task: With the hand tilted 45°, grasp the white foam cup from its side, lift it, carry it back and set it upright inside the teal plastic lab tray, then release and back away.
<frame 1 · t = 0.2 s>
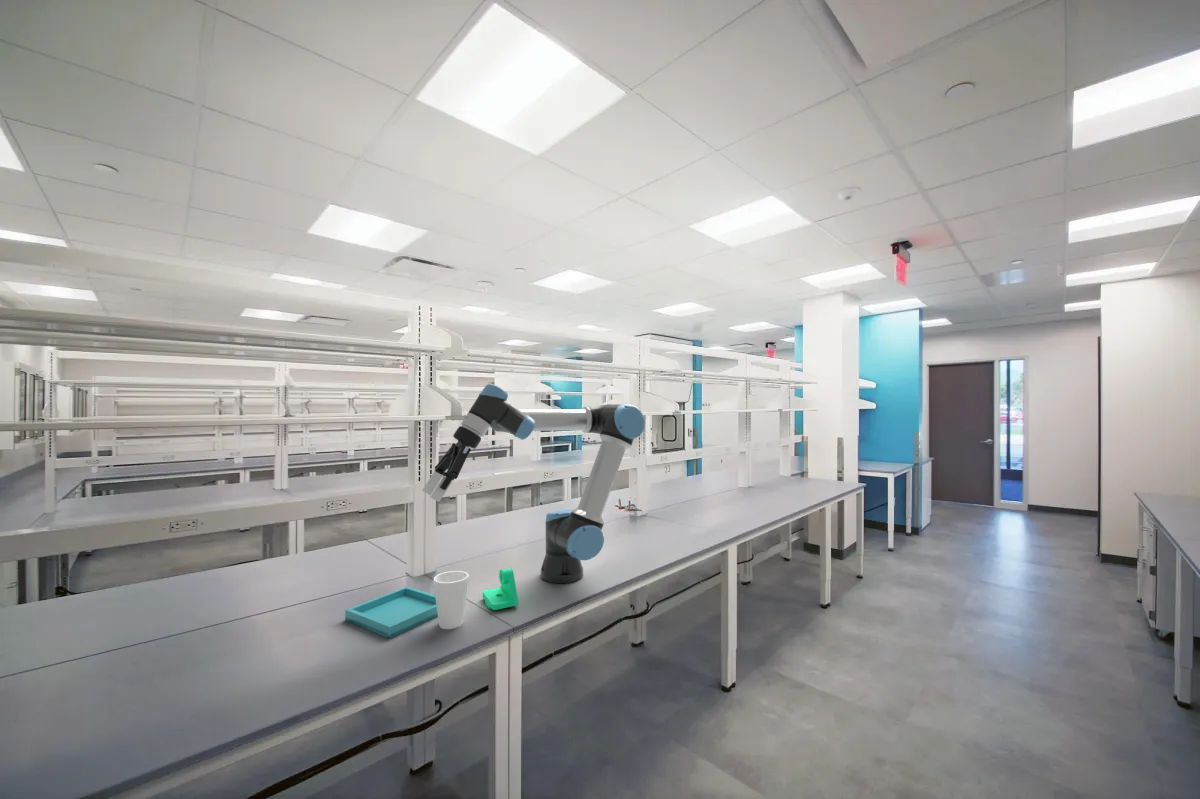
hand: (430, 496, 131), 35 cm above the table, tool tilted 35°, fingers open, 13 cm apart
foam cup: (451, 624, 130), on the table
camera mount: (499, 604, 143), on the table
teal tray: (399, 615, 135), on the table
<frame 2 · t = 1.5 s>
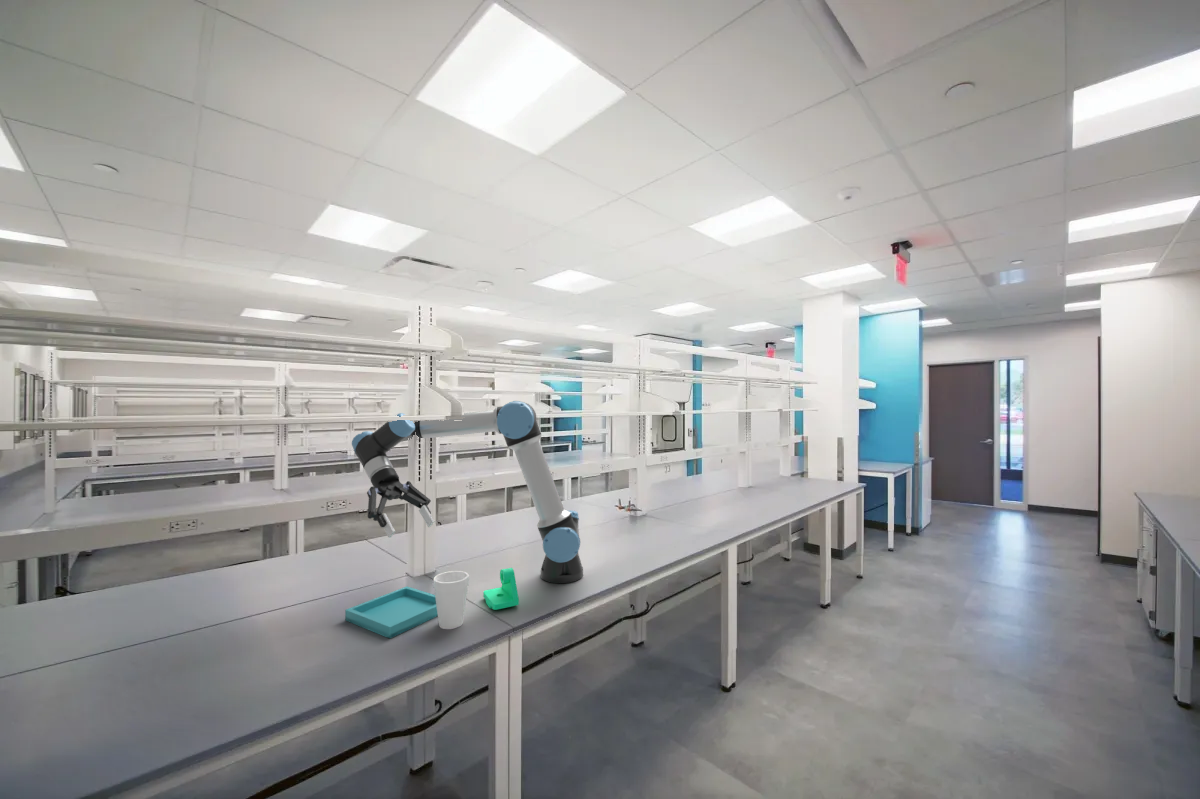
hand: (412, 529, 138), 24 cm above the table, tool tilted 45°, fingers open, 13 cm apart
nothing on the table moved.
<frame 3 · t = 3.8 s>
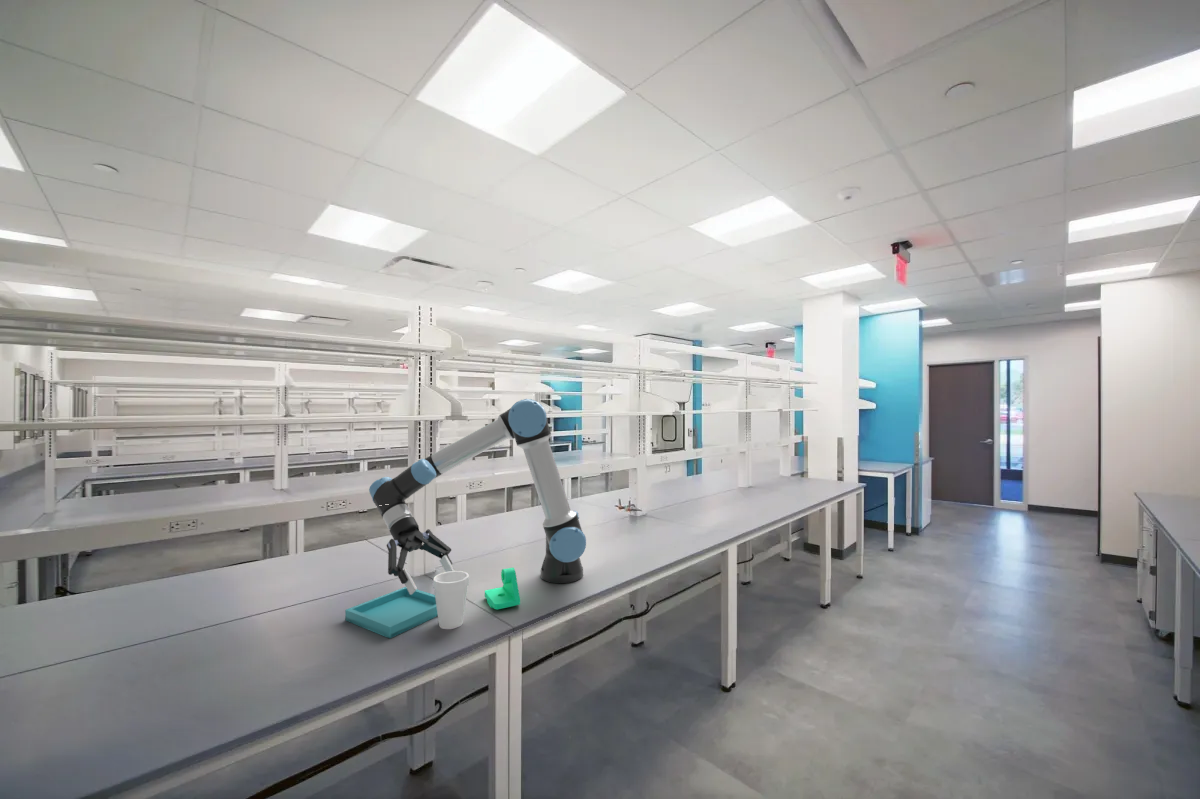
hand: (434, 583, 132), 10 cm above the table, tool tilted 45°, fingers open, 13 cm apart
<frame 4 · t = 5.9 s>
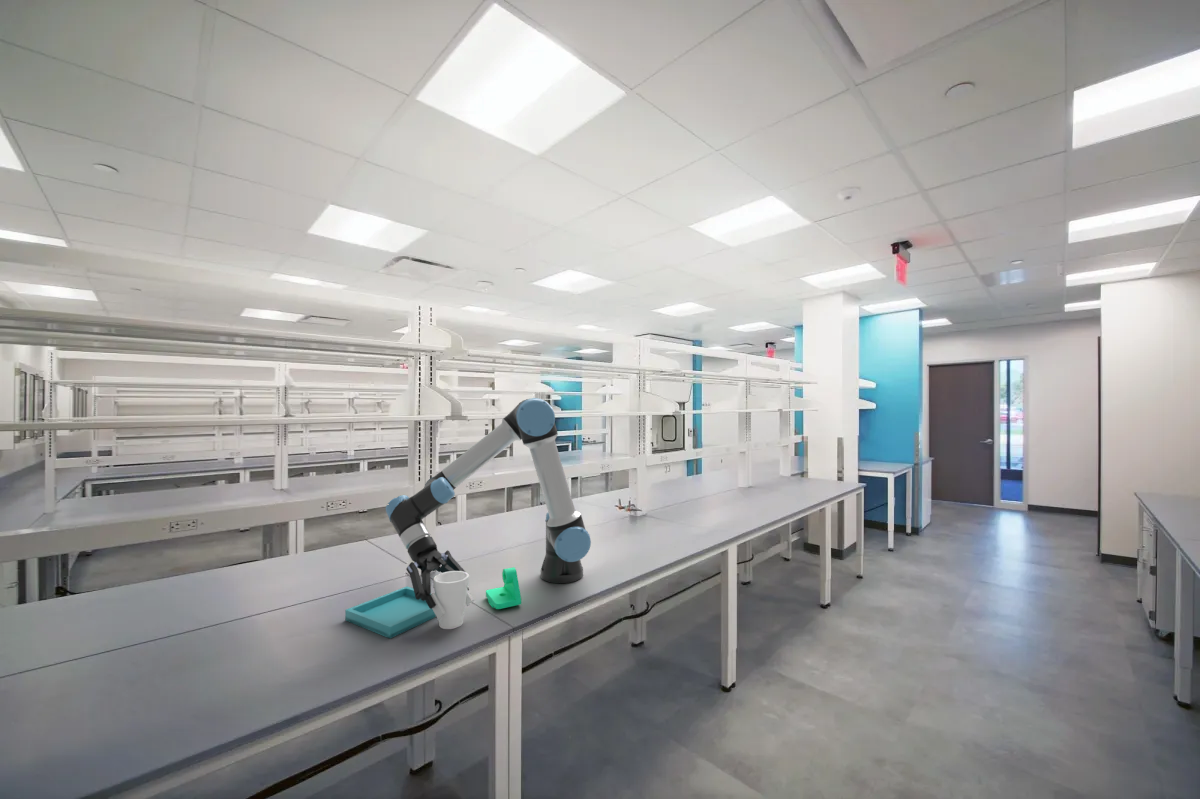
hand: (456, 609, 129), 4 cm above the table, tool tilted 45°, fingers closed on foam cup, 9 cm apart
foam cup: (451, 624, 130), on the table, touching gripper
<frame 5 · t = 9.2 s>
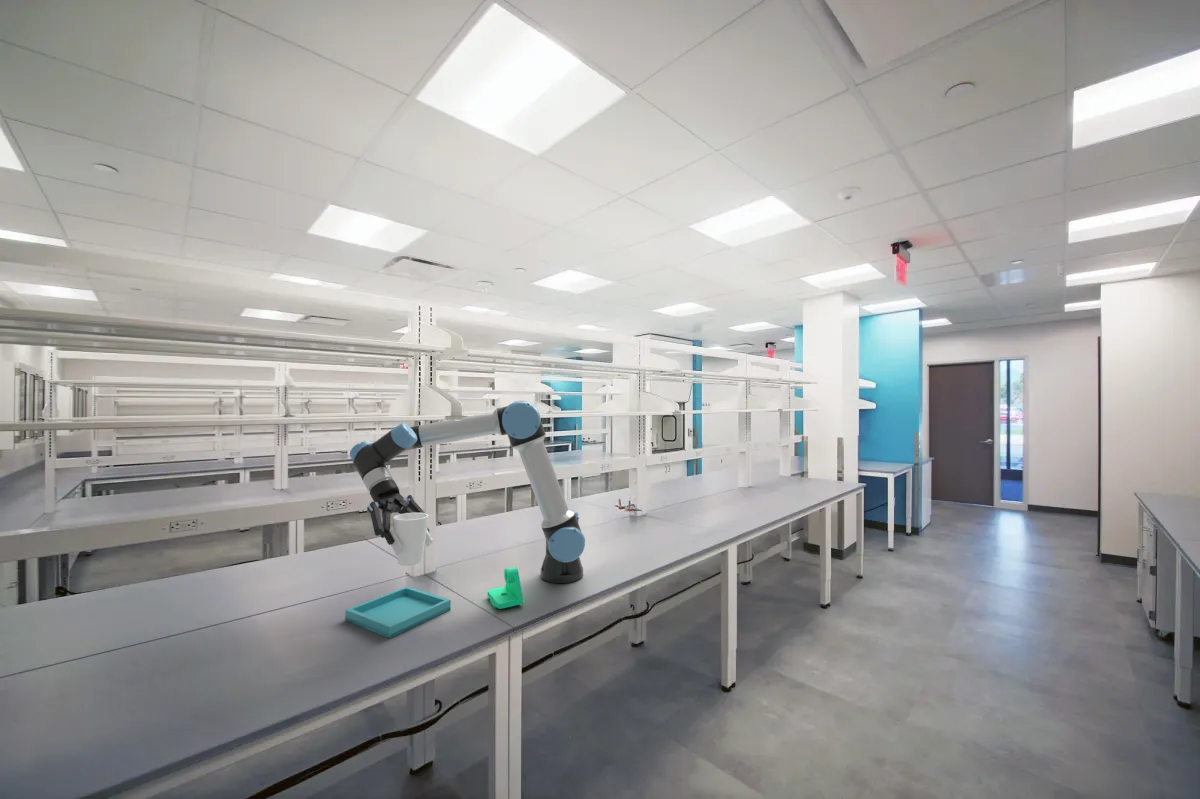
hand: (415, 547, 132), 20 cm above the table, tool tilted 45°, fingers closed on foam cup, 9 cm apart
foam cup: (410, 562, 133), point 16 cm above the table, touching gripper
when the fingers open (7 cm above the table, at t = 12.4 s): foam cup drops 1 cm, resting on teal tray.
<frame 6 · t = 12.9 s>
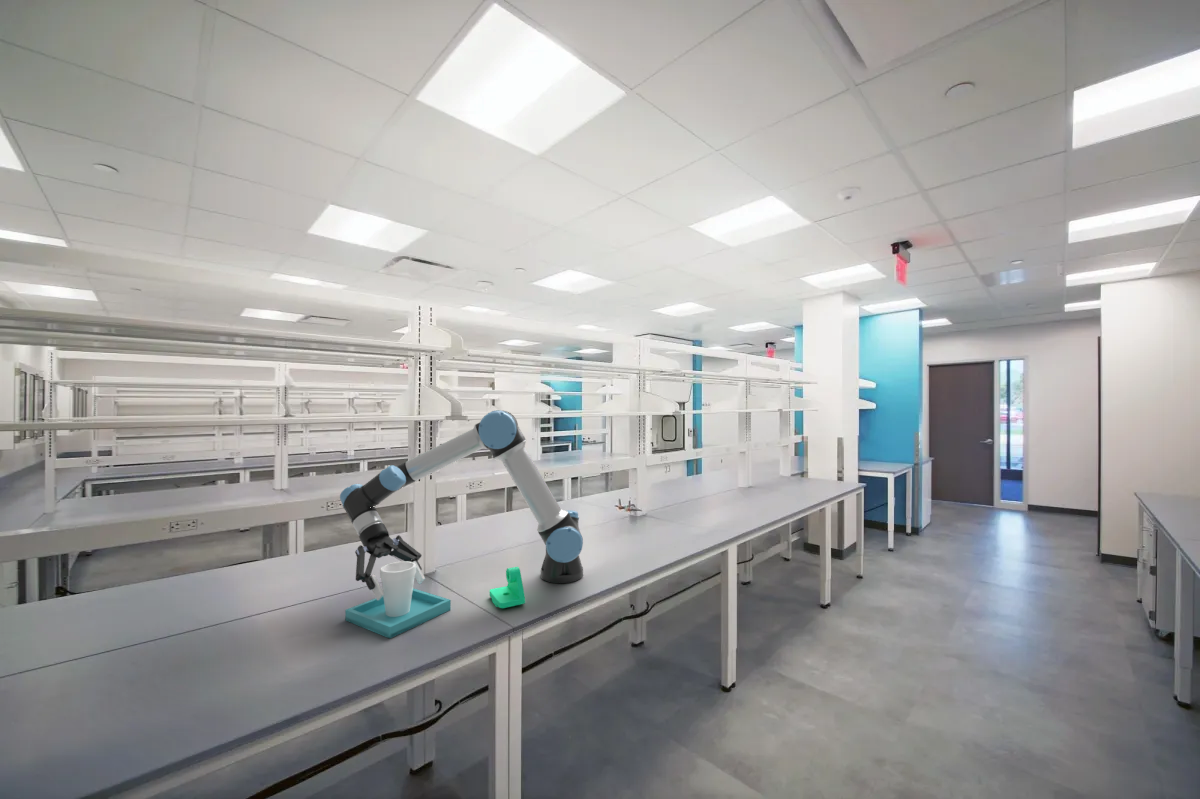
hand: (402, 589, 134), 8 cm above the table, tool tilted 45°, fingers open, 13 cm apart
foam cup: (397, 612, 135), point 1 cm above the table, touching teal tray
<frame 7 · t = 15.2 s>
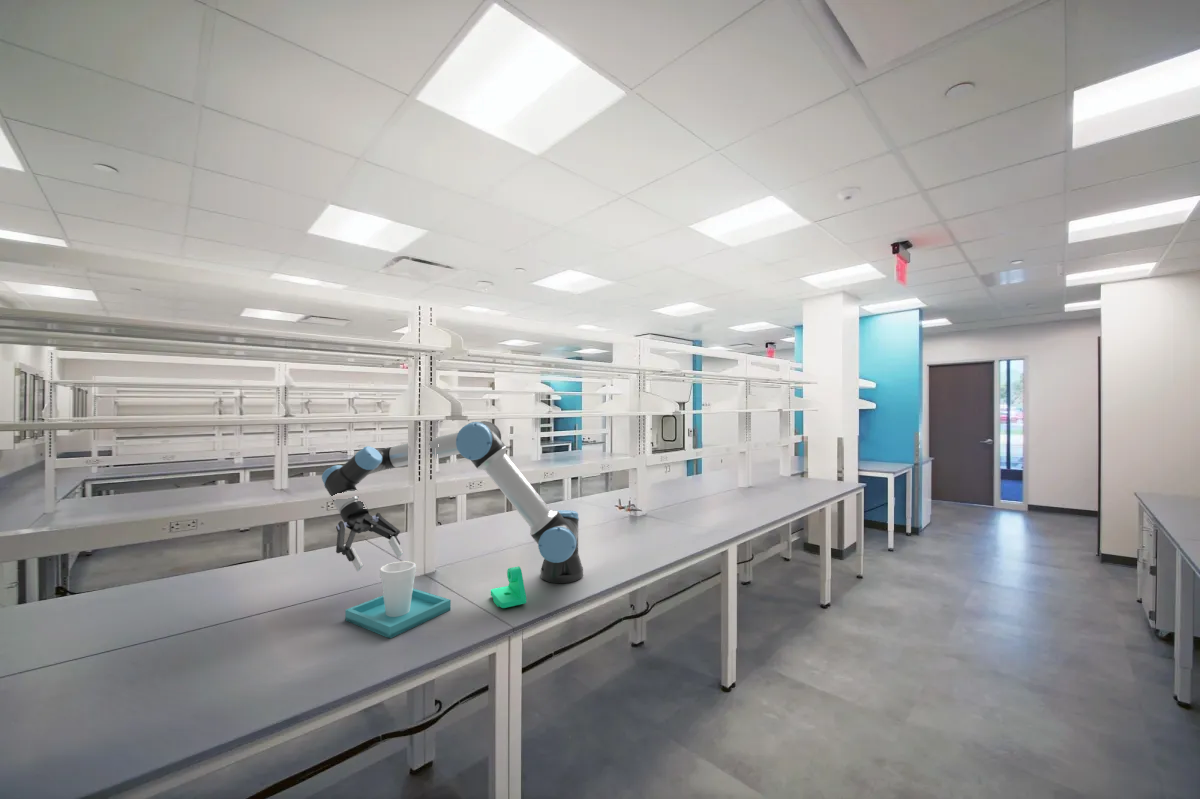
hand: (381, 561, 143), 13 cm above the table, tool tilted 45°, fingers open, 13 cm apart
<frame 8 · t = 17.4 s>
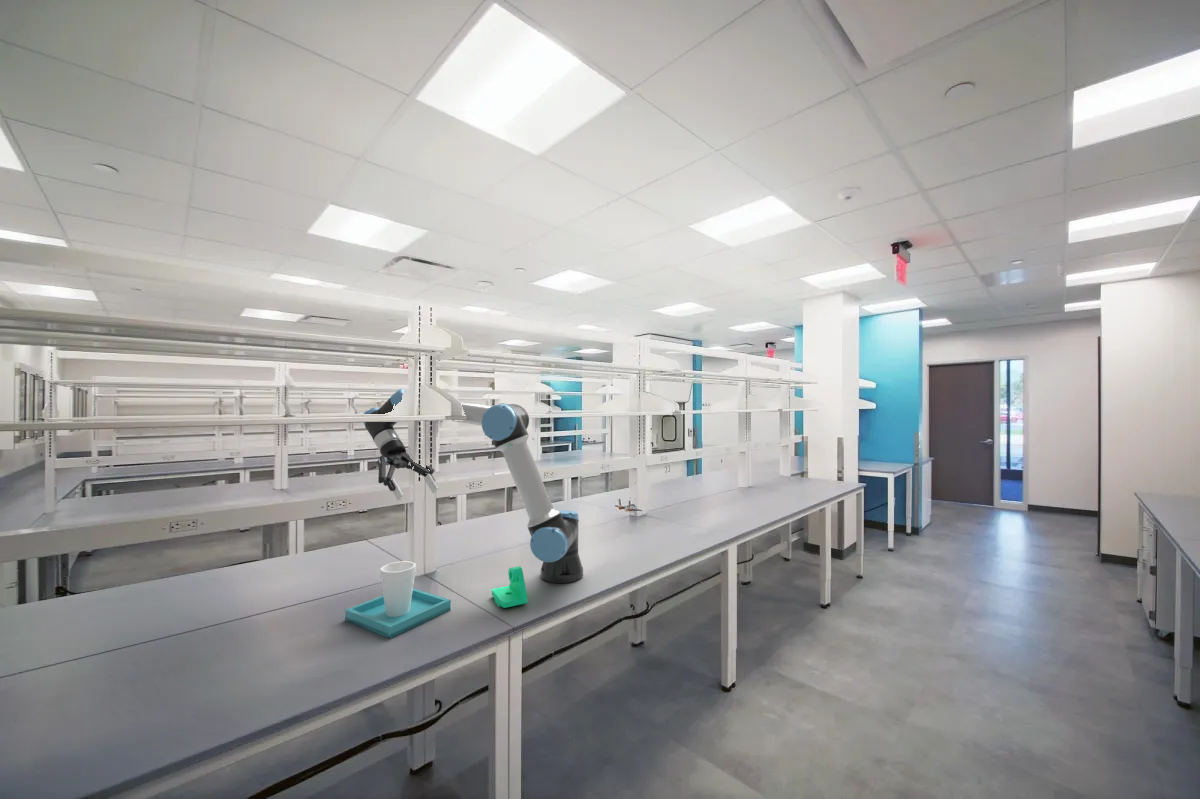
hand: (418, 494, 152), 32 cm above the table, tool tilted 45°, fingers open, 13 cm apart
at the end: foam cup inside the target area on the teal tray (0.4 cm from its centre), point 0.8 cm above the teal tray's base; foam cup tilted 0°; the gripper is holding nothing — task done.
